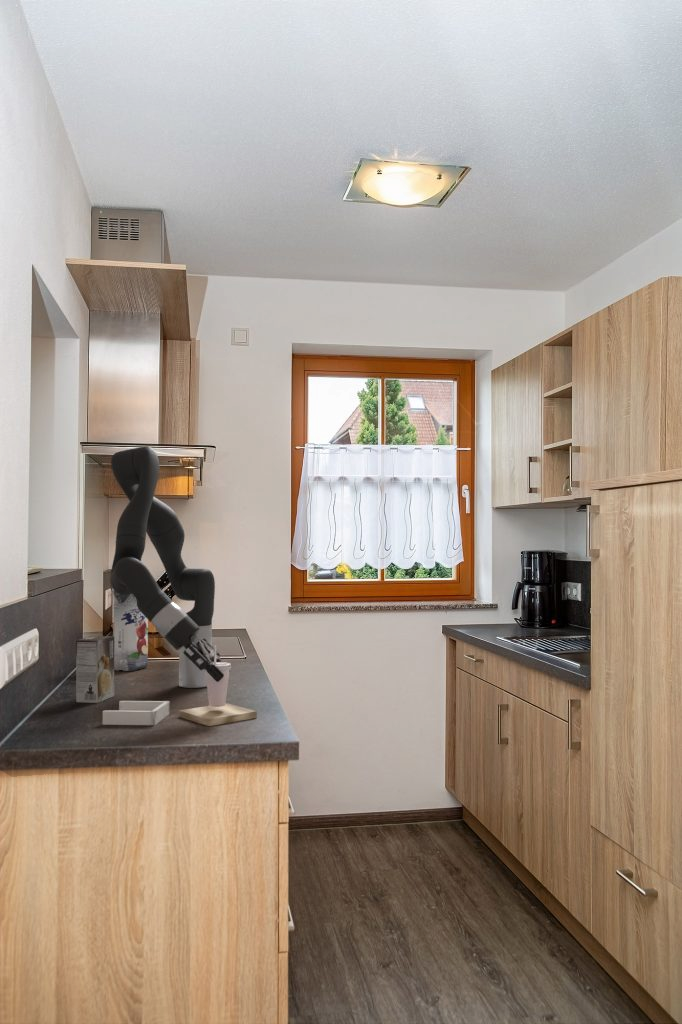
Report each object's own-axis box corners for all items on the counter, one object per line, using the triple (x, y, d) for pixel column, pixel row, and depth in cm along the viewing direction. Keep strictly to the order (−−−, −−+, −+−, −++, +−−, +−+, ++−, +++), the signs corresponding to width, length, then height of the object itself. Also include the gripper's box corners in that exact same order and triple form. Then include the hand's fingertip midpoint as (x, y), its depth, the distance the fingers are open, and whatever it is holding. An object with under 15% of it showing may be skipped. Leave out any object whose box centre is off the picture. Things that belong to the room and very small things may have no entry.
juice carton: (108, 670, 261) (109, 585, 262) (128, 666, 271) (128, 583, 272) (132, 672, 258) (133, 586, 259) (151, 667, 268) (151, 584, 269)
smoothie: (204, 702, 196) (204, 643, 196) (231, 702, 196) (232, 643, 197) (202, 708, 189) (202, 647, 190) (230, 707, 190) (230, 647, 190)
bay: (102, 724, 186) (102, 711, 186) (120, 713, 197) (120, 700, 198) (154, 725, 185) (154, 711, 185) (169, 713, 197) (169, 701, 197)
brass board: (226, 709, 202) (226, 703, 202) (256, 717, 192) (256, 711, 192) (179, 716, 193) (179, 710, 193) (208, 726, 183) (208, 719, 184)
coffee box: (93, 695, 220) (93, 635, 221) (115, 696, 219) (115, 635, 219) (75, 702, 211) (75, 639, 212) (98, 703, 210) (98, 640, 210)
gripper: (178, 617, 187) (229, 670, 186) (193, 611, 201) (241, 660, 200) (155, 640, 187) (206, 693, 186) (172, 633, 201) (219, 682, 200)
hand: (224, 676), depth 193 cm, fingers closed on smoothie, 6 cm apart
